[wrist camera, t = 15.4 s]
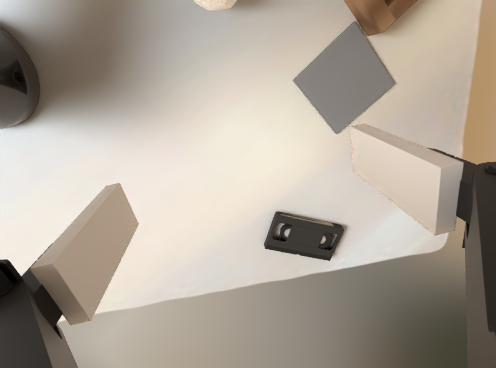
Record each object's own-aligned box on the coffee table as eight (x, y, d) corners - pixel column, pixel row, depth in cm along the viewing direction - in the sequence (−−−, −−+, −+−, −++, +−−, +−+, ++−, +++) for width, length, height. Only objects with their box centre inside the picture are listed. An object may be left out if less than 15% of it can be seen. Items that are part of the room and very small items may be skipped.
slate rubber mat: (292, 80, 43) (293, 80, 43) (353, 21, 41) (354, 21, 40) (335, 133, 47) (336, 134, 47) (393, 83, 45) (395, 83, 44)
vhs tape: (340, 223, 55) (344, 229, 53) (326, 254, 58) (329, 260, 56) (275, 209, 53) (277, 214, 51) (263, 242, 56) (265, 248, 54)
